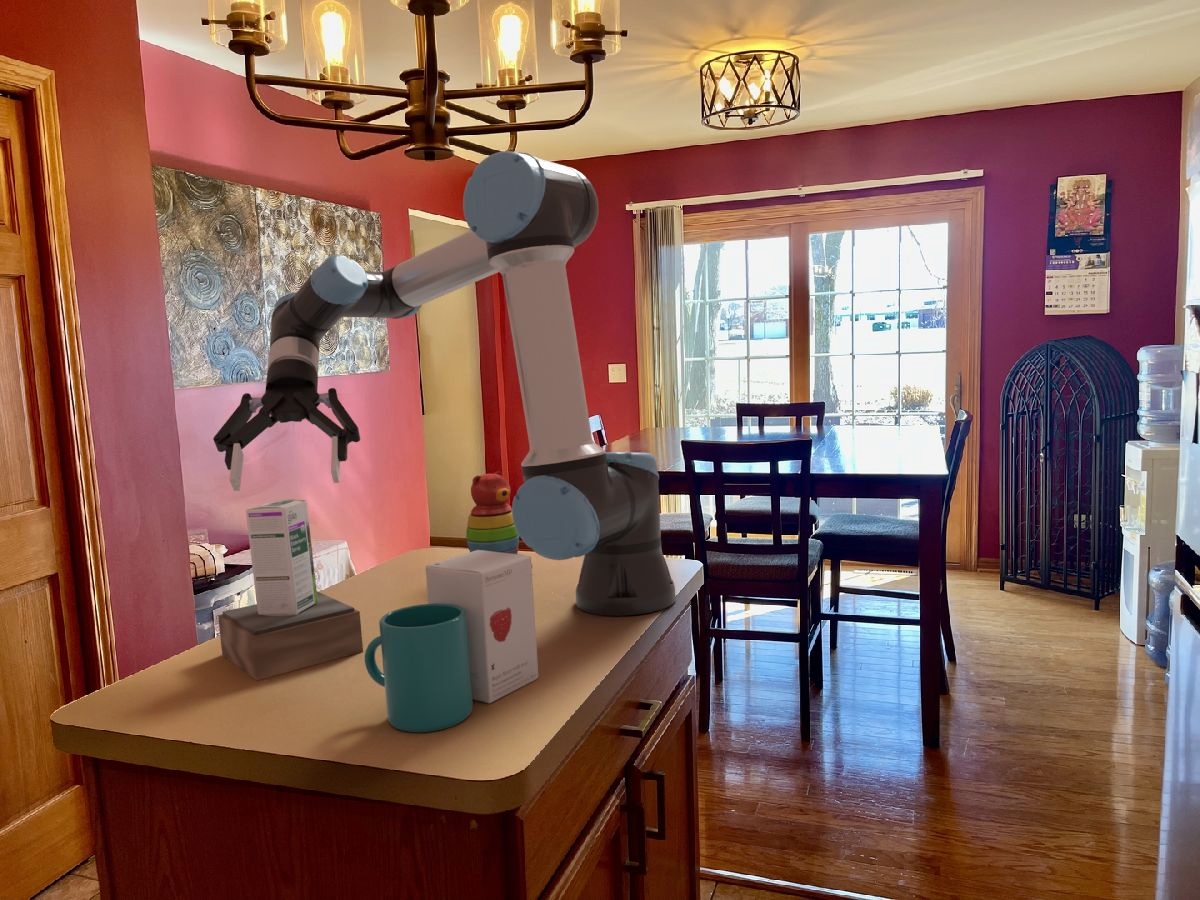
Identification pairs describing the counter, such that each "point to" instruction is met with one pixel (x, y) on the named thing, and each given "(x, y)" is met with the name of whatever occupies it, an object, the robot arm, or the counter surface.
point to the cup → (423, 666)
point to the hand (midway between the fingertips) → (285, 481)
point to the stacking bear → (491, 516)
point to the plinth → (289, 637)
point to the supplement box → (491, 617)
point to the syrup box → (282, 557)
